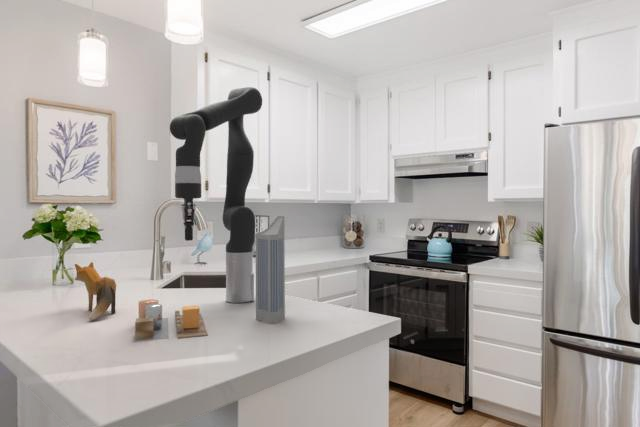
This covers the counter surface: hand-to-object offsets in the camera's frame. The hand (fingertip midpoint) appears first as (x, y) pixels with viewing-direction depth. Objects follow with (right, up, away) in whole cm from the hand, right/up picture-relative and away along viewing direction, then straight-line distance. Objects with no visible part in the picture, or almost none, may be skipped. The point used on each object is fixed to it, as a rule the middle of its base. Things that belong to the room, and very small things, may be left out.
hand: (188, 240), depth 130 cm
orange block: (+6, -21, -17) cm, 28 cm away
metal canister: (-4, -22, -17) cm, 28 cm away
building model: (+25, -23, -4) cm, 34 cm away
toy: (-30, -23, +3) cm, 38 cm away
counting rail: (+5, -23, -14) cm, 27 cm away
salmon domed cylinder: (-7, -22, -12) cm, 26 cm away
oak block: (-4, -22, -24) cm, 33 cm away
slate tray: (-4, -23, -17) cm, 29 cm away
